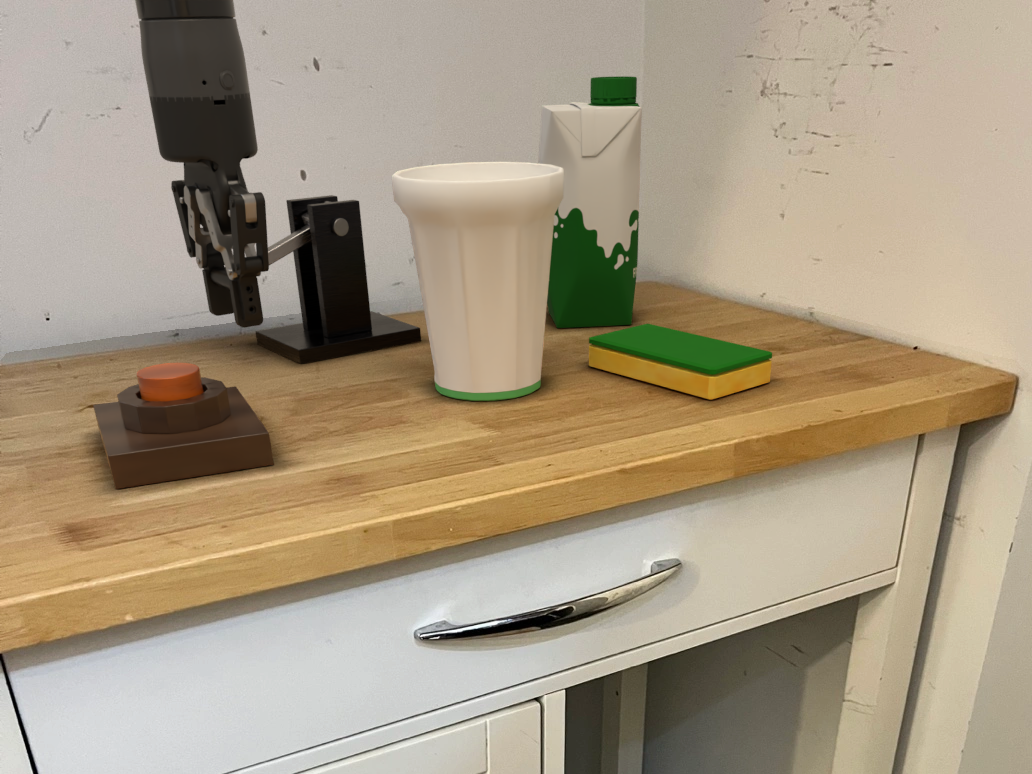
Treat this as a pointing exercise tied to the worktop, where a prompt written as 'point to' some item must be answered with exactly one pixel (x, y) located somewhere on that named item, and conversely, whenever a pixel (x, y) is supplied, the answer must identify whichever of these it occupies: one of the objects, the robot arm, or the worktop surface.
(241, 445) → the button box
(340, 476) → the worktop surface
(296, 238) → the lever
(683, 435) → the worktop surface
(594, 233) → the milk carton
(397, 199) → the cup
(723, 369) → the dish sponge
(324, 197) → the bracket
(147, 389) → the button
